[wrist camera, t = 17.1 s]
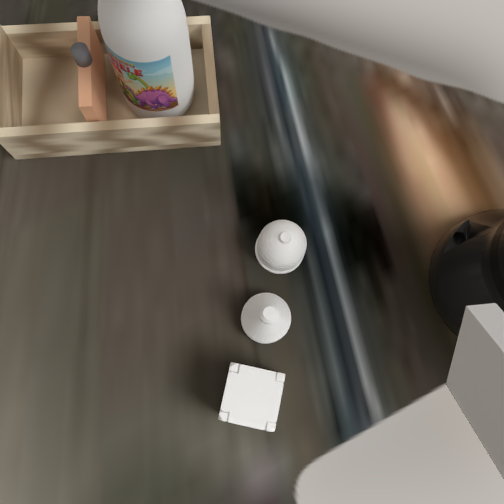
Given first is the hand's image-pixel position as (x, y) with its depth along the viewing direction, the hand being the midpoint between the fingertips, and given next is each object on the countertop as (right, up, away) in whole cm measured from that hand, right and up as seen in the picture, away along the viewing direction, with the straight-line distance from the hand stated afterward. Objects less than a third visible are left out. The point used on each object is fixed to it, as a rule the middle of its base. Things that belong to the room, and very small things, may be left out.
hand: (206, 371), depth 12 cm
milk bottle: (-9, +20, +40) cm, 46 cm away
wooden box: (-14, +20, +41) cm, 48 cm away
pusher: (-15, +20, +40) cm, 47 cm away
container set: (+2, -4, +36) cm, 37 cm away
